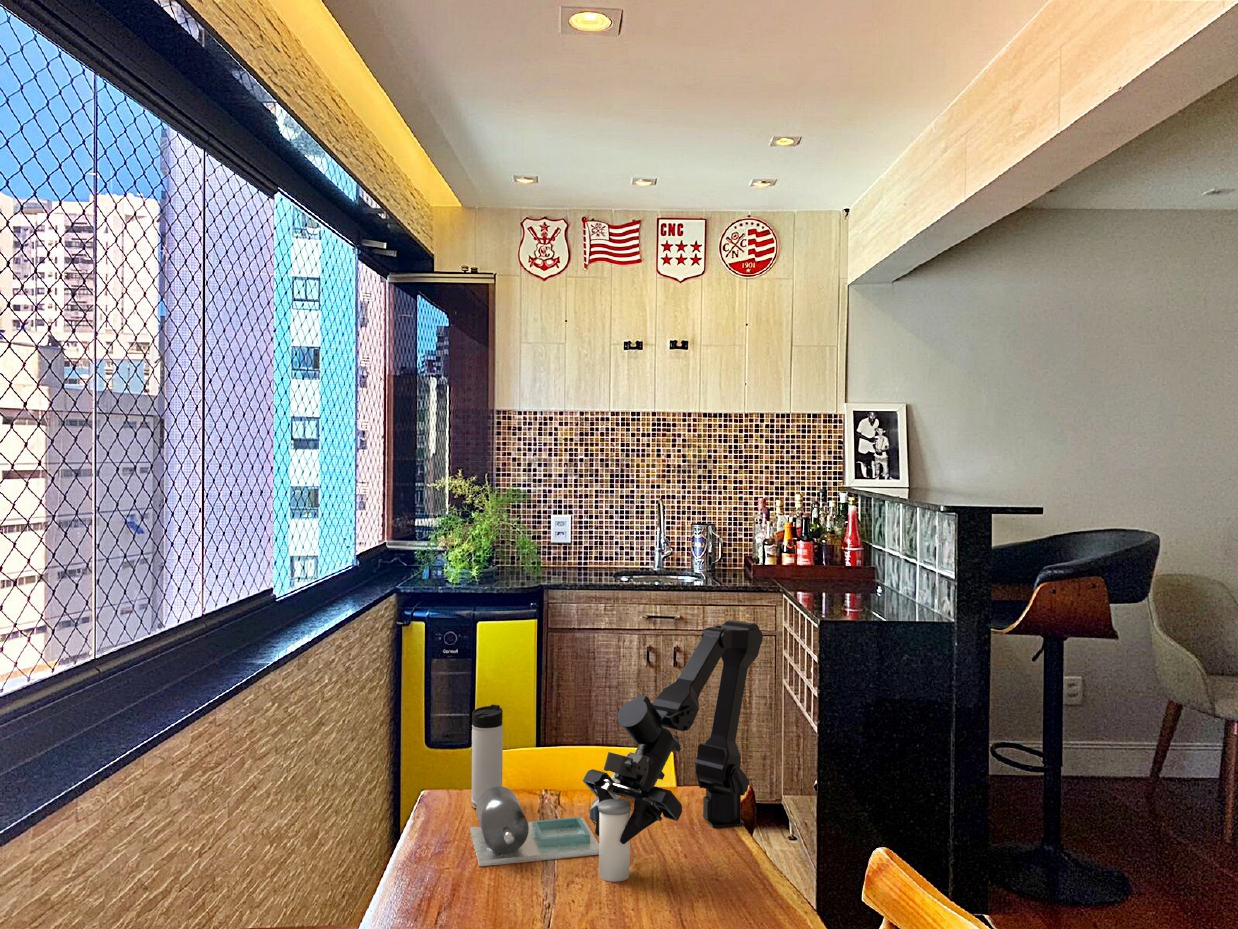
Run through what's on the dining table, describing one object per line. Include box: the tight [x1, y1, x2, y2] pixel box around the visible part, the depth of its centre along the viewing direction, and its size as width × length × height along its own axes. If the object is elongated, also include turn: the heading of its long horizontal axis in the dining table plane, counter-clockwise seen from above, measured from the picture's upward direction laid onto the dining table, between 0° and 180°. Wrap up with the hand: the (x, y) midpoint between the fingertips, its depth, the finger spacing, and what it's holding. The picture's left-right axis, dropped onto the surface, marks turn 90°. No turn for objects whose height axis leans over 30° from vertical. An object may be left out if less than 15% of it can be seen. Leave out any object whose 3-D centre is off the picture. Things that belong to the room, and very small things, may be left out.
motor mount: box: [469, 786, 599, 867], centre depth 175 cm, size 22×18×9 cm
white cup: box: [598, 798, 632, 883], centre depth 162 cm, size 6×6×12 cm
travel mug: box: [471, 704, 504, 807], centre depth 196 cm, size 6×7×20 cm
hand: (609, 838), depth 161 cm, fingers closed on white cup, 5 cm apart
